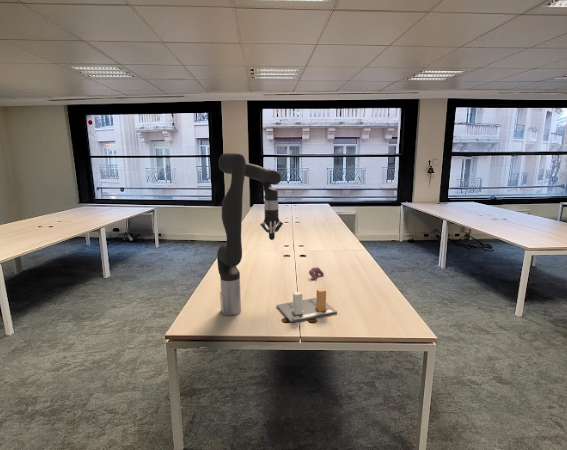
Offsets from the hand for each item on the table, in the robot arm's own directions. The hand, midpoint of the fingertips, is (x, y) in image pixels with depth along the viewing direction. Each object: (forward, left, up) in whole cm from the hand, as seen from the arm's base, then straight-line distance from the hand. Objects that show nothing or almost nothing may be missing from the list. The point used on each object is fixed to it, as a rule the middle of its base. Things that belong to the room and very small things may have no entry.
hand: (271, 239), depth 180 cm
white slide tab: (0, -34, -28) cm, 44 cm away
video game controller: (+32, +8, -29) cm, 44 cm away
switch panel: (+6, -31, -29) cm, 43 cm away
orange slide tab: (+12, -35, -28) cm, 46 cm away
